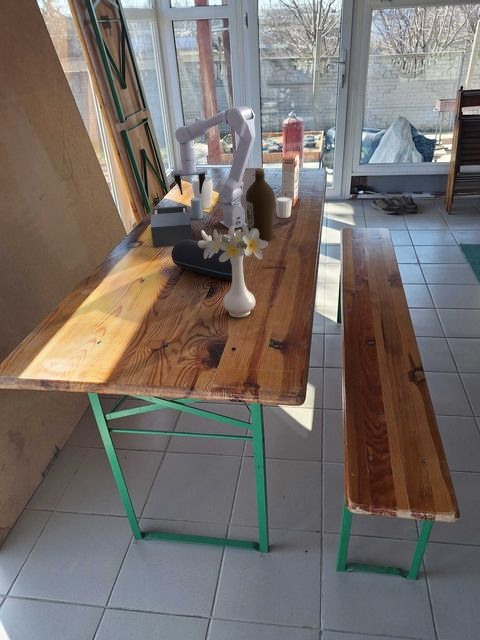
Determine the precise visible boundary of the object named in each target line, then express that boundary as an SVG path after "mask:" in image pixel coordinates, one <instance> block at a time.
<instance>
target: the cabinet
mask: <svg viewBox="0 0 480 640" xmlns="http://www.w3.org/2000/svg"><path fill="white" fill-rule="evenodd" d="M150 233H151V240H152V248H161V247H162V248H163V247H164V248H165V247H173V246H174V245H175V244H176V243H177V242H179V241H181V240H186V239H190V240H194V238H193V228H192V220H191V215H190V211H187V212H180V213H166V214H154V213H153V214H150Z"/></svg>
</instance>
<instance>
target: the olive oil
mask: <svg viewBox="0 0 480 640" xmlns="http://www.w3.org/2000/svg"><path fill="white" fill-rule="evenodd" d="M254 171H255V173H254V181H253V182H252V183H251V185H250V186H249V187H248V189H247V190H246V193H245V208H246V220H247V228H248V230H249V232H250V231H251V230H252V229H254V228H256V229H257V230H258V231H259V239H261V240H264V241H267V242H268V241H270V240H272V239H273V238H274V221H275V219H274V218H275V203H276V196H275V192H274V189H273V187H271V185H269V184H268V182H267V181H266V178H265V177H266V176H265V175H266V174H265V169H264V168H256V169H255V170H254ZM248 234H249V233H248Z"/></svg>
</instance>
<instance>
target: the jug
mask: <svg viewBox="0 0 480 640" xmlns="http://www.w3.org/2000/svg"><path fill="white" fill-rule="evenodd" d="M190 208H191V218H192V220H196V221H197V220H202V219H203V218H204V216H203V209H202V202H201V198H198V197H195V198H194V197H192V198H190Z"/></svg>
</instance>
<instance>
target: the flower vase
mask: <svg viewBox="0 0 480 640" xmlns="http://www.w3.org/2000/svg"><path fill="white" fill-rule="evenodd" d="M241 228H242V230H241V229H238V230H236V231H235V228H234V227H233V226H232V227H231V228H230V229H229V228H228V232H227V234H222V233H221V232H220V233H218V231H217V229H214V230H213V238H212V235H211V234H209V235H208V234H206V232H205V230H203V229H201V231H200V232H201V233H200V235H201V237H202V239H203V240H198V241H199V242H198V246H199V247H200V248H206V249H205V251H204V259H206V258H207V256H208V254H209V252H210V254H209V258H211V257H212V256H213V254H214V253H218V251H219V249H222V250H223V251H226V252H224V253H222V254H221V256H220V257H219V261H220V262H225V261H227V260H228V259H229V258H230V257H231V258H230V261H231V264H232V280H231V285H230V288H229V290H228V291H227V292H226V294H225V295H224V296H223V298H222V306H223V308H224V310H225V311H226V312H228V314H229V316H231V317H234V318H245V317H247V316H249V315H250V314H251V311H252V310H254V308H255V306H256V304H257V302H256V298H255V296H254V294H253V293H252V292H251V291H250V290H249V289H248V288H247V286H246V284H245V283H246V282H245V276H244V264H243V259H244V255H245V256H246V257H249V256H251V255H252V254H254V256H255V257H256V258H257V259H258V260H263V253H262V251H261V250H262V249H265V248H267V247H268V246H269V242H268V240H267V241H264V240H261V239H259V231H258V230H257V229H256V228H254V229H252V230H251V231H250V232H249V230H248V226H246V225H245V224H242V227H241ZM242 231H243V232H242ZM248 233H249V234H248ZM212 239H213V240H212ZM240 245H242V246H240ZM213 248H215V249H213Z"/></svg>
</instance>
